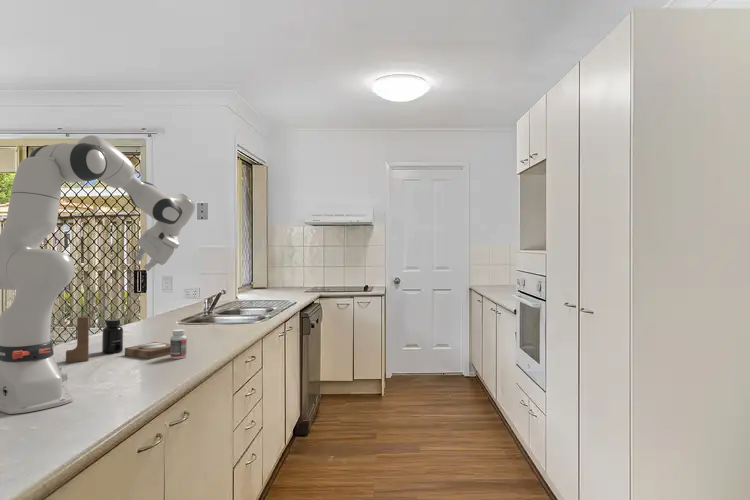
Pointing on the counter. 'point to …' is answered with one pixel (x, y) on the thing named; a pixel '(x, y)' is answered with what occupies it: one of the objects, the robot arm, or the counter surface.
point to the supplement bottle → (112, 337)
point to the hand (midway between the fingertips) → (141, 264)
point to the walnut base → (148, 350)
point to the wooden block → (80, 342)
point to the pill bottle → (178, 344)
